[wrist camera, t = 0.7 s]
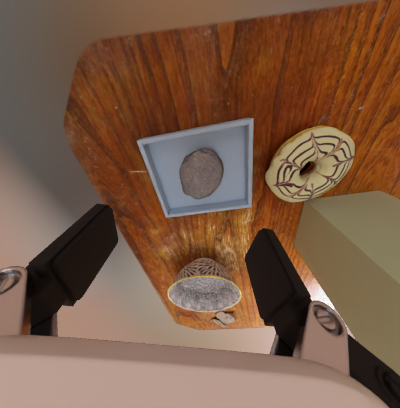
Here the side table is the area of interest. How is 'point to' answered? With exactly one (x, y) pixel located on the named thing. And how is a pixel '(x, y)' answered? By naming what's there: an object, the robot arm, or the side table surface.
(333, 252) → the stand
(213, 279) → the bowl
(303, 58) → the side table surface
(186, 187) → the stone
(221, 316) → the butterfly
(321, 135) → the decorated donut
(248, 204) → the tray
